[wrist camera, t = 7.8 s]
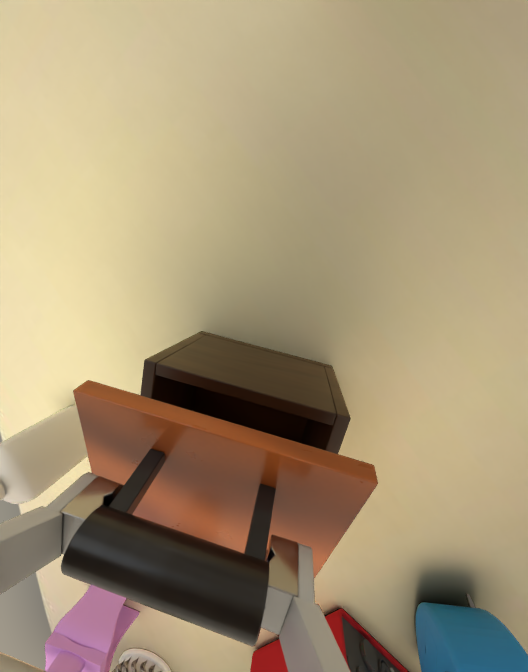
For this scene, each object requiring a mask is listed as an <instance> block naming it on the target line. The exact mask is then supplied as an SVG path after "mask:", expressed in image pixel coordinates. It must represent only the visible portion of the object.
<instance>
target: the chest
mask: <svg viewBox="0 0 528 672" xmlns="http://www.w3.org/2000/svg"><path fill="white" fill-rule="evenodd" d="M141 396H144V397H147V398H150V399H154V400H157V401H161V402H164V403H167V404H171V405H174V406H177V407H181V408H184V409H187V410H191V411H194V412H197V413H201V414H204V415H208V416H211V417H214V418H218V419H221V420H224V421H228V422H231V423H234V424H238V425H241V426H244V427H248V428H251V429H255V430H258V431H261V432H265V433H268V434H271V435H275V436H278V437H281V438H285V439H288V440H291V441H295V442H298V443H302V444H305V445H308V446H312V447H315V448H318V449H322V450H325V451H328V452H332V453H335V454H338V452H339V449H340V446H341V444H342V441H343V438H344V435H345V433H346V430H347V427H348V424H349V421H350V415H349V412H348V410H347V407H346V404H345V401H344V398H343V395H342V393H341V390H340V387H339V384H338V381H337V379H336V376H335V373H334V370H333V367H332V366H331V365H327V364H323V363H319V362H316V361H312V360H308V359H304V358H301V357H297V356H293V355H289V354H285V353H282V352H278V351H274V350H270V349H267V348H263V347H259V346H255V345H252V344H248V343H244V342H240V341H236V340H233V339H229V338H225V337H221V336H218V335H214V334H210V333H206V332H203V331H201V332H199V333H197V334H195V335H193V336H191V337H189V338H187V339H185V340H183V341H181V342H179V343H177V344H175V345H173V346H171V347H169V348H167V349H165V350H163V351H161V352H159V353H157V354H155V355H153V356H151V357H149V358H147V359H145V361H144V369H143V378H142V387H141Z"/></svg>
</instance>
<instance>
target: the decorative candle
mask: <svg viewBox="0 0 528 672" xmlns="http://www.w3.org/2000/svg"><path fill="white" fill-rule="evenodd" d="M113 672H171V670H170V667H169V666H168V665H167V664H166V662H165V661H164V660H163V659H162V658H160V657H159V656H157V655H156V654H154V653H152V652H150V651H147V650H144V649H135V648H132V649H129V650H126V651H124V652H123V654H122V655H121V657H120V659H119V664H118V665H117V666H116V669H114V670H113Z"/></svg>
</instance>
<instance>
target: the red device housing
mask: <svg viewBox="0 0 528 672" xmlns="http://www.w3.org/2000/svg"><path fill="white" fill-rule="evenodd" d="M325 619H326V621H327V623H328V625H329V627H330V629H331V631H332V633H333V636H334V638H335V640H336V642H337V644H338V646H339V648H340V651H341V653H342V655H343V657H344V659H345V661H346V663H347V665H348V668H349V670H350V672H409V671H407V670H406V669H405V668H404V667H403V666H402V665H401V664H400V663H399V662H398V661H397V660H396V659H395V658H394V657H393V656H392V655H391V654H390V653H389V652H388V651H386V650H385V649H384V648H383V647H382V646H381V645H380V644H379V643H378V642H377V641H376V640H375V639H374V638H373V637H372V636H371V635H370V634H369V633H368V632H367V631H365V630H364V629H363V628H362V627H361V626H360V625H359V624H358V623H357V622H356V621H355V620H354V619H353V618H352V617H351V616H350V615H349V614H348V613H347V612H346V611H344V610H343V609H342V608H341V609H339V610H337V611H335V612H333V613H331V614H329V615H327V616H325ZM250 672H288V669H287V665H286V662H285V658H284V654H283V651H282V647H281V643H280V640H279V639H278V640H276V641H274V642H272V643H270V644H268V645H266V646H264V647H262V648H260V649H258V650H256V651H254V653H253V656H252V664H251V671H250Z"/></svg>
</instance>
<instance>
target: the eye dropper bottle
mask: <svg viewBox="0 0 528 672" xmlns="http://www.w3.org/2000/svg"><path fill="white" fill-rule="evenodd" d="M87 456H88V453H87V449H86V445H85V440H84V436H83V432H82V427H81V423H80V419H79V414H78V410H77V406H76V405H73V406H69V407H66V408H64V409H62V410H60V411H58V412H56V413H54V414H53V415H51V416H49V417H47V418H45V419H43V420H41V421H40V422H38V423H36V424H34V425H32V426H30V427H29V428H27V429H25V430H23V431H21V432H19V433H18V434H16V435H14V436H12V437H10V438H8V439H7V440H5V441H3V442H1V443H0V501H1V500H2V499H3V500H5V501H7V502H9V503H13V504H20V503H25V502H28V501H31V500H33V499H34V498H36V497H37V496H39V495H40V494H41V493H43V492H44V491H45V490H46V489H48V488H49V487H50V486H51V485H53V484H54V483H55V482H56V481H58V480H59V479H60V478H61V477H62V476H64V475H65V474H66V473H67V472H69V471H70V470H71V469H72V468H73V467H75V466H76V465H77V464H78V463H80V462H81V461H82V460H83V459H84V458H86V457H87Z"/></svg>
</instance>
